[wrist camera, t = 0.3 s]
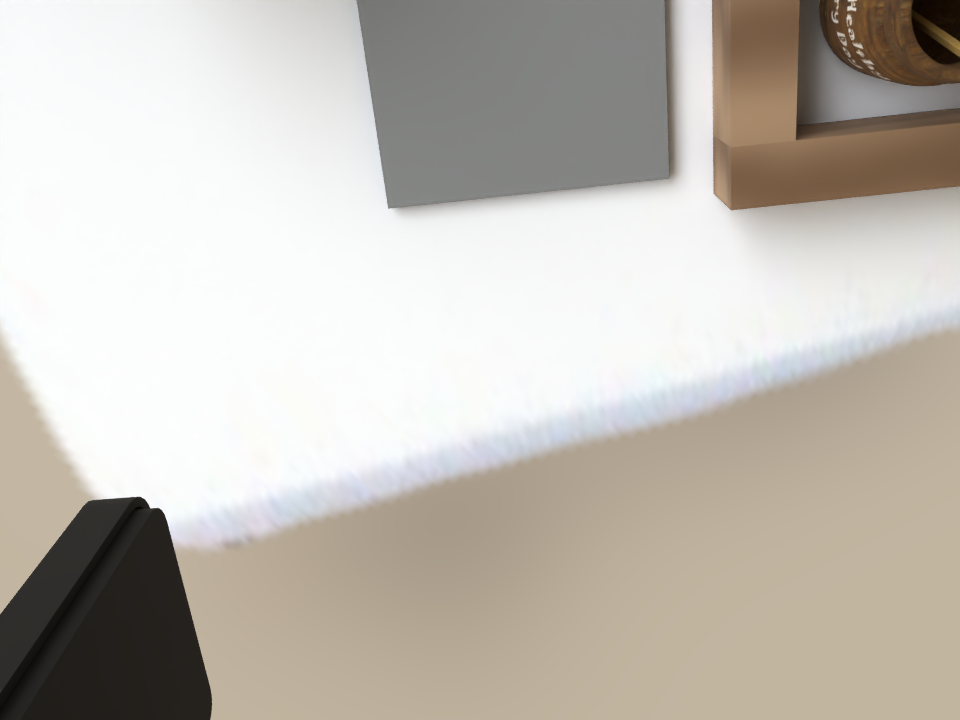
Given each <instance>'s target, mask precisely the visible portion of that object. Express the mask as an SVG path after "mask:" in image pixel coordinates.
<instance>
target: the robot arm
mask: <svg viewBox="0 0 960 720" xmlns="http://www.w3.org/2000/svg"><path fill="white" fill-rule="evenodd" d="M211 710H212V697H211V690H210V685H209V682H208V678H207V674H206V670H205V666H204V662H203V658H202V655H201V651H200V647H199V643H198V639H197V635H196V631H195V628H194V624H193V620H192V616H191V612H190V608H189V605H188V601H187V597H186V593H185V589H184V586H183V582H182V577H181V574H180V570H179V566H178V562H177V559H176V554H175V551H174V547H173V543H172V539H171V535H170V531H169V527H168V524H167V520H166V517H165V515H164V513H163V512H162V510H161V509H159V508H151V509H150V507H149V505H148V503H147V502H146V500H145V499H143V498H142V497H130V498H116V499H102V500H92V501H89V502H87V503H86V504H85V505H84V506H83V507H82V509H81V510H80V511H79V513H78V514H77V515H76V517H75V518H74V519H73V521H72V522H71V523H70V524H69V526H68V527H67V528H66V530H65V531H64V532H63V533H62V535H61V536H60V537H59V539H58V540H57V541H56V543H55V544H54V545H53V547H52V548H51V549H50V550H49V552H48V553H47V554H46V556H45V557H44V558H43V560H42V561H41V562H40V564H39V565H38V566H37V567H36V569H35V570H34V571H33V573H32V574H31V575H30V576H29V578H28V579H27V580H26V582H25V583H24V584H23V586H22V587H21V588H20V590H19V591H18V592H17V593H16V595H15V596H14V597H13V599H12V600H11V601H10V603H9V604H8V605H7V606H6V608H5V609H4V610H3V612H2V613H1V614H0V720H210V717H211Z"/></svg>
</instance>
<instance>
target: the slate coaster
mask: <svg viewBox="0 0 960 720" xmlns="http://www.w3.org/2000/svg"><path fill="white" fill-rule="evenodd" d="M357 4H358V11H359V18H360V24H361V31H362V37H363V44H364V51H365V57H366V64H367V71H368V77H369V84H370V90H371V97H372V104H373V110H374V117H375V123H376V130H377V137H378V143H379V150H380V156H381V163H382V170H383V176H384V183H385V189H386V196H387V203H388V208H397V207H406V206H415V205H425V204H434V203H444V202H453V201H462V200H472V199H481V198H490V197H500V196H509V195H518V194H528V193H537V192H546V191H556V190H565V189H574V188H584V187H593V186H602V185H612V184H621V183H630V182H640V181H649V180H658V179H668V178H669V151H668V114H667V77H666V39H665V2H664V0H357Z"/></svg>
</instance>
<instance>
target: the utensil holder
mask: <svg viewBox="0 0 960 720" xmlns="http://www.w3.org/2000/svg"><path fill="white" fill-rule="evenodd" d="M819 8H820V21H821V27H822V30H823V33H824V36H825V38H826V41H827V42H828V44H829V46H830V48H831V49H832V50H833V52H834V53H835V54H836V55H837V56H838V57H839V58H840V59H841V60H842V61H843V62H844V63H846V64H847V65H849V66H850V67H852V68H853V69H855V70H857V71H859V72H862V73H864V74H867V75H870V76H873V77H876V78H880V79H884V80H887V81H891V82H896V83H900V84H905V85H913V86H934V85H941V84H946V83H960V0H820V7H819Z"/></svg>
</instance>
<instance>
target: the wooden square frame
mask: <svg viewBox="0 0 960 720" xmlns="http://www.w3.org/2000/svg"><path fill="white" fill-rule="evenodd" d="M799 10H800V0H712V32H713V166H714V194H715V195H716V196H717V197H718V198H719V199H720V200H721V201H722V202H723V203H724V204H725V205H726V206H727V207H728V208H729V209H730V210H737V209H747V208H756V207H766V206H775V205H785V204H794V203H804V202H813V201H823V200H832V199H842V198H851V197H861V196H870V195H880V194H890V193H899V192H909V191H918V190H928V189H937V188H947V187H956V186H960V108H956V109H946V110H937V111H928V112H919V113H910V114H901V115H891V116H882V117H873V118H864V119H855V120H846V121H836V122H827V123H818V124H809V125H800V126H796V118H797V82H798V46H799Z"/></svg>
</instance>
